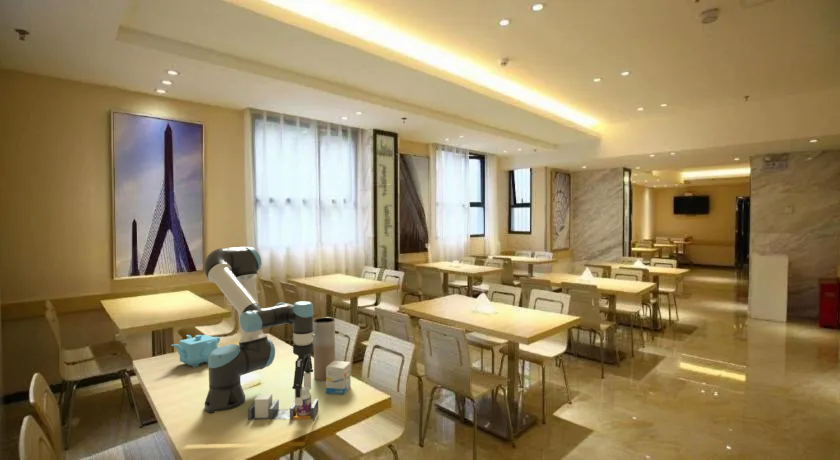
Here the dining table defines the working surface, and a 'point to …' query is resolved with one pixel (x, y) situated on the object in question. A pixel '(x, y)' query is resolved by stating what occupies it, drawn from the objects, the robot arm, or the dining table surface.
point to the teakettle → (196, 349)
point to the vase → (323, 346)
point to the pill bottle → (305, 403)
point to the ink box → (338, 377)
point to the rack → (284, 412)
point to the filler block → (263, 405)
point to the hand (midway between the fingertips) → (303, 396)
